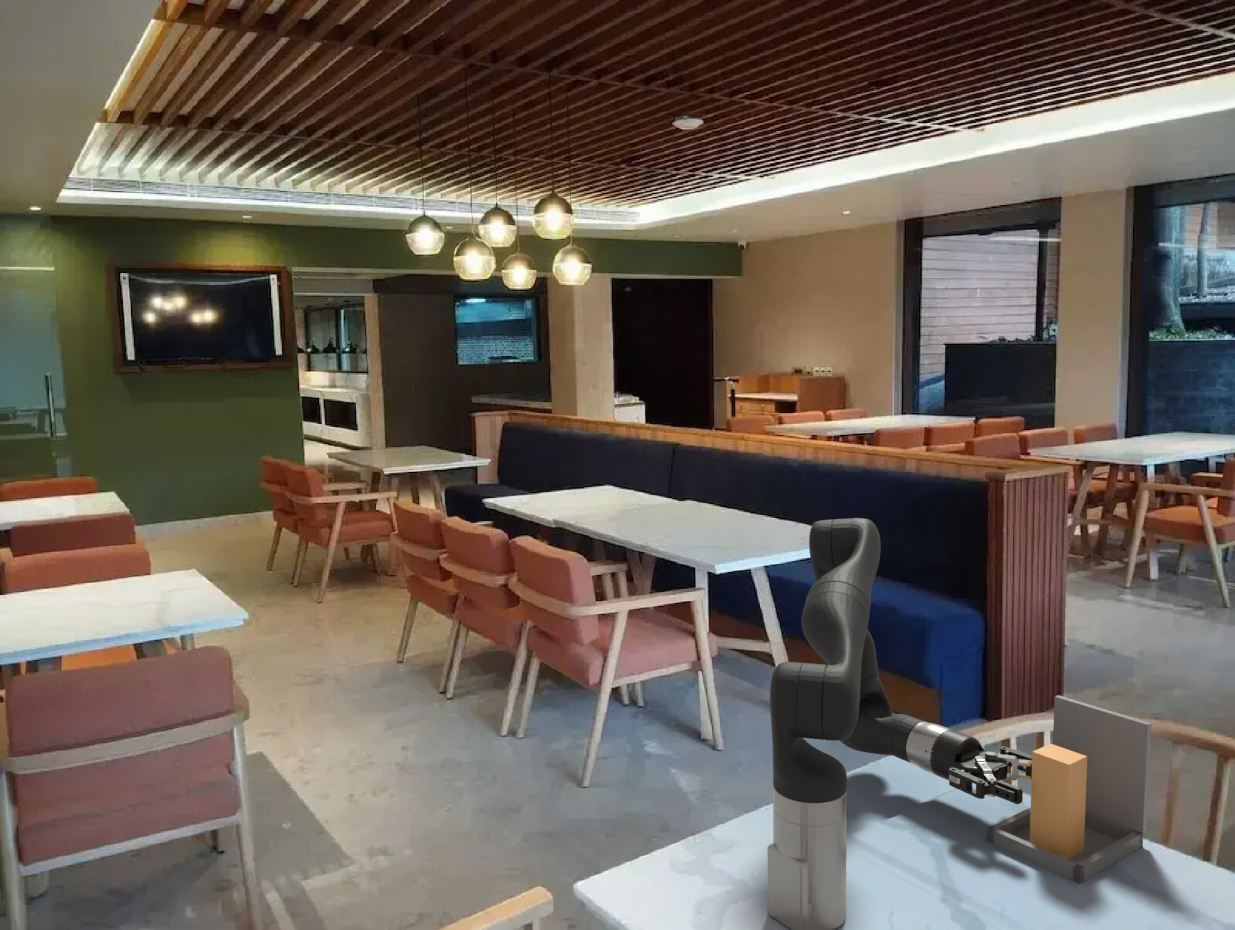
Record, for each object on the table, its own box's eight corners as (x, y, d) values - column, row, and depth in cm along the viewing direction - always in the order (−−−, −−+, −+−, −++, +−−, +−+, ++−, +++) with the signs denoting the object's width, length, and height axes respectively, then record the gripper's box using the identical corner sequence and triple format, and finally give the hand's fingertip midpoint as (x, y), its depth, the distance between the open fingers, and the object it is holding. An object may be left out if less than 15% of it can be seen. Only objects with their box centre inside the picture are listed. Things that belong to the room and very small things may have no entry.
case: (1079, 890, 132) (1084, 754, 129) (987, 847, 143) (990, 721, 141) (1145, 850, 141) (1151, 723, 139) (1054, 813, 153) (1058, 695, 150)
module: (1065, 861, 137) (1069, 764, 135) (1029, 845, 142) (1032, 751, 140) (1083, 850, 140) (1087, 756, 138) (1047, 835, 144) (1050, 743, 142)
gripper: (914, 740, 151) (1010, 777, 138) (972, 718, 159) (1067, 751, 146) (914, 787, 152) (1008, 828, 139) (971, 763, 160) (1066, 799, 147)
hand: (1038, 788), depth 142 cm, fingers open, 8 cm apart
